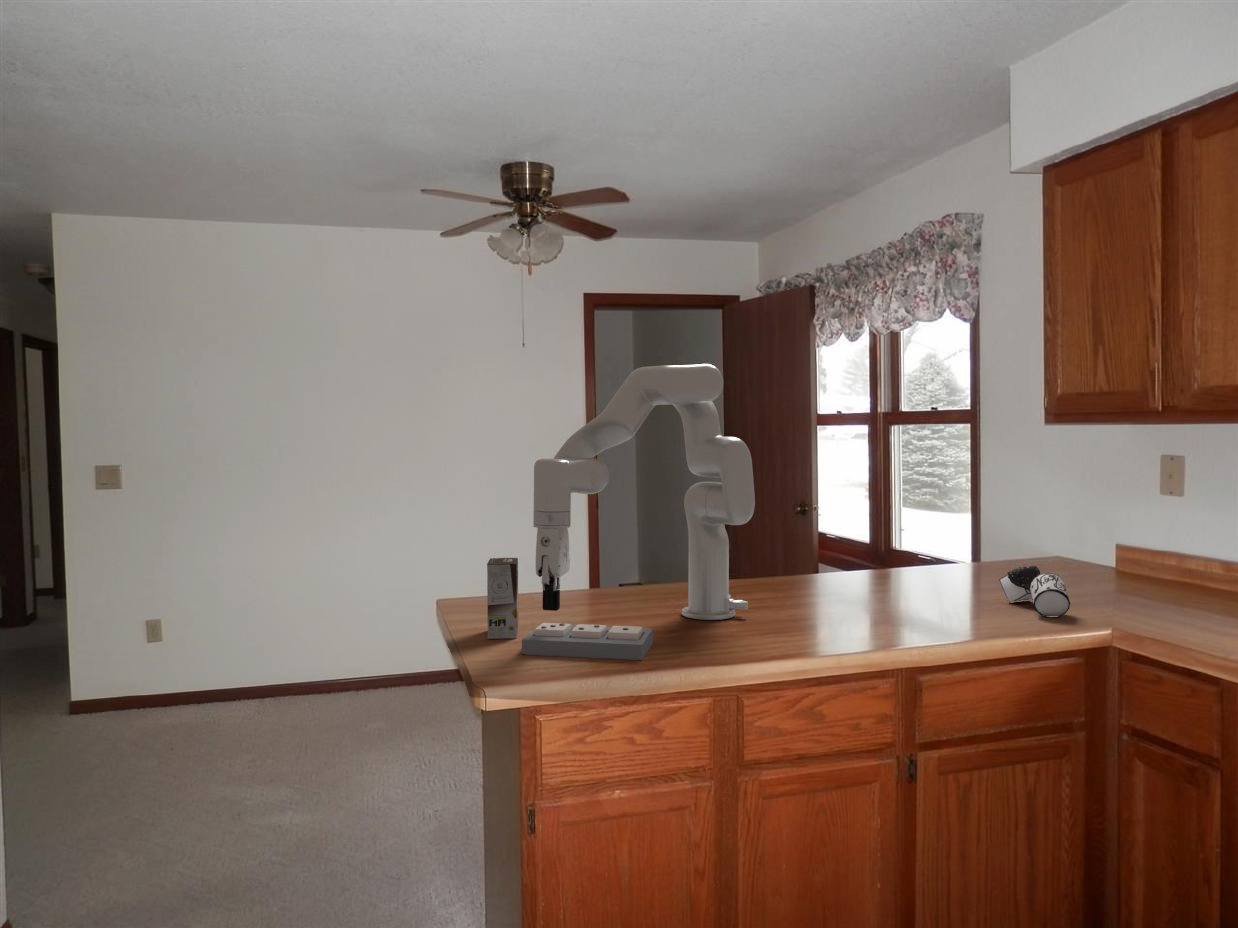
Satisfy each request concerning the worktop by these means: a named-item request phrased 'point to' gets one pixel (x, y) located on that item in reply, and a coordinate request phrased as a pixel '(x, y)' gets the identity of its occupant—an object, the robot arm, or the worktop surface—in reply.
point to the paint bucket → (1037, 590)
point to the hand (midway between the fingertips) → (551, 609)
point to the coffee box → (502, 598)
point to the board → (588, 646)
